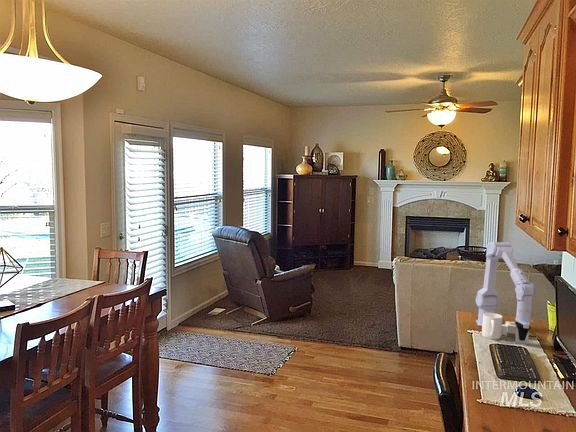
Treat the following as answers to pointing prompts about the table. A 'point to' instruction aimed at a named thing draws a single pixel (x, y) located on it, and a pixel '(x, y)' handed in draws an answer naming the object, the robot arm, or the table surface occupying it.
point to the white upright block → (520, 340)
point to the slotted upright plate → (509, 329)
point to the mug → (492, 326)
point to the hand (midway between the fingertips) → (521, 339)
